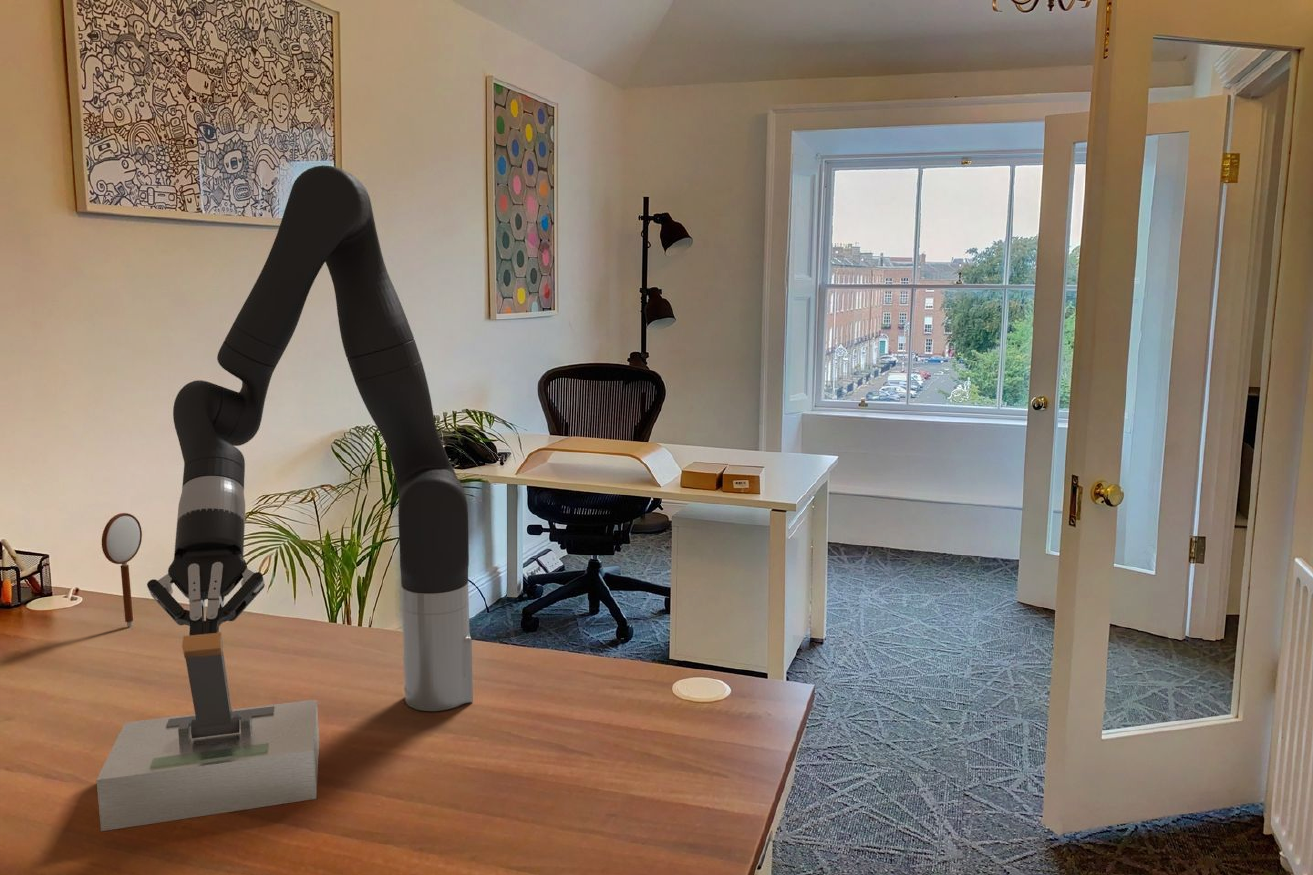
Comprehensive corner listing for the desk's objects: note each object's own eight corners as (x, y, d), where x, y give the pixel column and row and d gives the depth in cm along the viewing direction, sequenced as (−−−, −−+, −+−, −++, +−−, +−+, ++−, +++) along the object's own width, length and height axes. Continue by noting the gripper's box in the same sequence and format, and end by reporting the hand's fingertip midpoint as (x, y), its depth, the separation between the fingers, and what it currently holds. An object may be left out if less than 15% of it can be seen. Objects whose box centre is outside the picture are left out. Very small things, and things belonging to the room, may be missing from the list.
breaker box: (319, 742, 122) (316, 684, 120) (316, 798, 108) (312, 734, 107) (128, 768, 115) (123, 706, 113) (101, 831, 102) (94, 762, 100)
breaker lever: (240, 722, 113) (227, 629, 105) (239, 736, 111) (225, 643, 103) (194, 727, 111) (178, 634, 103) (192, 742, 109) (175, 648, 102)
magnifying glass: (115, 636, 157) (105, 520, 154) (106, 635, 157) (96, 519, 154) (151, 618, 165) (142, 508, 162) (143, 617, 166) (134, 507, 162)
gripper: (144, 509, 110) (130, 648, 101) (266, 503, 114) (262, 636, 105) (157, 540, 116) (144, 674, 107) (272, 533, 120) (269, 661, 111)
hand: (203, 655), depth 106 cm, fingers closed
